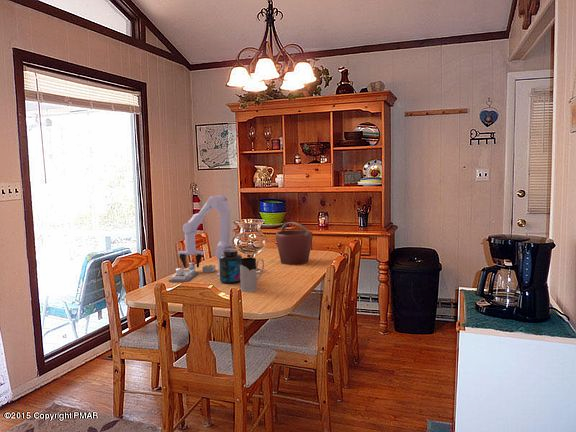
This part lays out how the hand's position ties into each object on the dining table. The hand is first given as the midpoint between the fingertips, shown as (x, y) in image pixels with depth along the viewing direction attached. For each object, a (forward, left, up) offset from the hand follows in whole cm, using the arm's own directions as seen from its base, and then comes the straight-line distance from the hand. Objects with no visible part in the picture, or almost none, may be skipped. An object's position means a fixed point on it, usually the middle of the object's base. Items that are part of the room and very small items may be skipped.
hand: (191, 267), depth 268 cm
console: (-6, -9, -3) cm, 10 cm away
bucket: (-16, -60, -3) cm, 62 cm away
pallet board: (-11, +9, -3) cm, 14 cm away
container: (-36, -8, -3) cm, 37 cm away
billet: (0, 0, -3) cm, 3 cm away
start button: (-6, -9, -3) cm, 11 cm away
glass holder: (-56, -10, -3) cm, 57 cm away
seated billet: (-16, +12, -1) cm, 20 cm away
